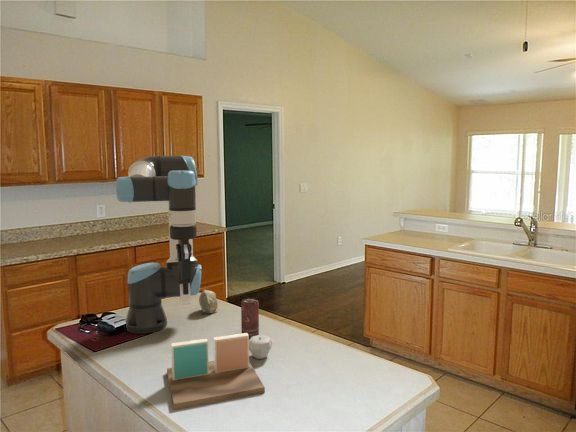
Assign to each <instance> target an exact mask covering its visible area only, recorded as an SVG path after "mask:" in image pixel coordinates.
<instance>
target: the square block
mask: <svg viewBox="0 0 576 432" xmlns="http://www.w3.org/2000/svg"><path fill="white" fill-rule="evenodd" d="M170 346H171V349H170V351H171V353H170V355H171V368H172V378H173V380H178V379H184V378H190V377H196V376H202V375H207V374H209V363H208V362H209V341H208V339H207V338H201V339H193V340H192V339H191V340H186V341H180V342H173V343H170Z"/></svg>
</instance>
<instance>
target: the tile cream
mask: <svg viewBox="0 0 576 432" xmlns="http://www.w3.org/2000/svg"><path fill="white" fill-rule="evenodd" d="M213 361H214V370H215V373H219V372H225V371H231V370H237V369H243V368H249V362H250V350H249V335H248V333H242V332H241V333H237V334H235V333H234V334H230V335H229V334H228V335H221V336H215V337H213Z"/></svg>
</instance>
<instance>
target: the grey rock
mask: <svg viewBox="0 0 576 432" xmlns="http://www.w3.org/2000/svg"><path fill="white" fill-rule="evenodd" d="M198 297H199V298H198V302H199V306H200V309H201V310H202V312H203V313H205V314H212V313H216V312H218V311H217V309H218V299H217V294H216V293H215V292H214V291H212V290H207V289H203V290H202V292H201V293H200V295H199V296H198Z"/></svg>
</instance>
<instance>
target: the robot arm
mask: <svg viewBox="0 0 576 432" xmlns="http://www.w3.org/2000/svg"><path fill="white" fill-rule="evenodd" d="M115 180H116V181H115V192H116V193H115V194H116V199H117V201H118V202H120V203H138V202H139V203H142V202H145V203H146V202H167V208H168V212H167V214H166V217H168V235H169V239H168V240H169V258H168V259H167V260H166V262H165V266H161V264H160V263H159V262H148V263H142V264H139V265H135V266H133V267H131V268H130V269H129V271H128V272H127V281H126V282H127V289H128V290H127V291H128V310H127V314H126V318H125V321H124V323H125V322H126V328H127V331H126V332H129V333H130V334H132V333H133V334H150V333H154V332H157V331H161V330H163V329H164V328H166V327H167V326H168V317H167V315H166V312H165V310H164V306H163V305H162V299H168V298H170V299H171V298H179V299H180V306H188V305H191V297H193V296H196V295H198V294H199V292H200V289H201V280H202V265H201V264H198V259H197V258H196V257H195V256H194V252H193V251H194V247H193V243H194V242H193V239H196V238H197V236H198V232H197V225H196V223H197V208H196V207H197V206H196V204H197V203H196V202H197V201H196V196H197V195H196V187H197V186H198V184H199V180H198V171H197V166H196V163H195V159H194V158H193V157H192V156H189V155H150V156H146V157H143V158H140V159H138V160H136V161H134V162H133V163H132V164H131V165H130V166H129V168H128V172H127V175H126V176H119V177H117V178H116V179H115Z"/></svg>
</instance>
